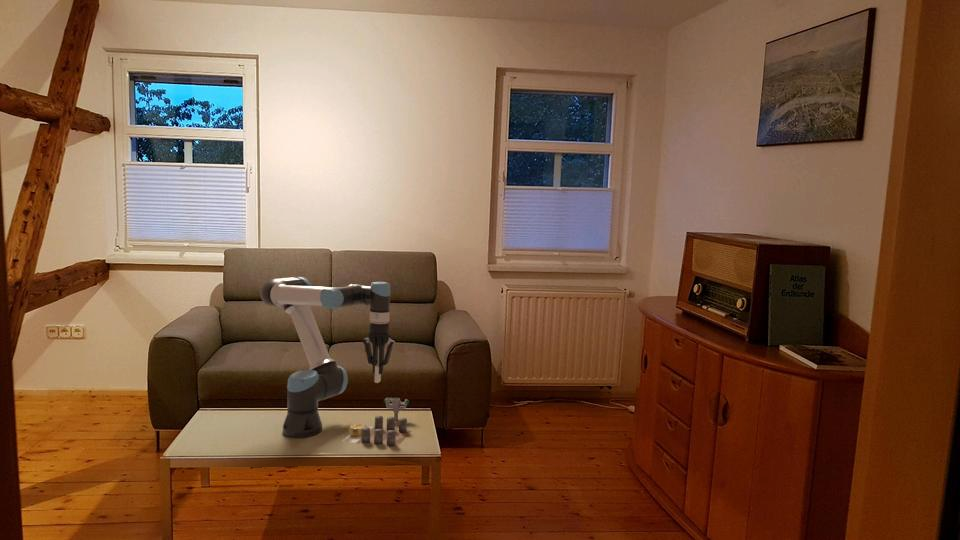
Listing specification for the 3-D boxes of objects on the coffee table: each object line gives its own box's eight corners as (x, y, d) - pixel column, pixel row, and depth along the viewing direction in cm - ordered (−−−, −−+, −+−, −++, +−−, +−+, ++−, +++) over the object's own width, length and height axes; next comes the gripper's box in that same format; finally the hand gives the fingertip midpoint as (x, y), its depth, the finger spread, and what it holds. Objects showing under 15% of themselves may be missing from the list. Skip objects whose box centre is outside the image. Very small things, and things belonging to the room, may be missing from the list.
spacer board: (341, 443, 230) (341, 428, 229) (359, 427, 247) (359, 413, 247) (397, 449, 226) (397, 434, 225) (411, 433, 243) (411, 418, 243)
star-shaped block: (345, 435, 235) (345, 428, 235) (353, 430, 242) (353, 422, 242) (362, 437, 234) (362, 430, 233) (369, 431, 240) (369, 424, 240)
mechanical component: (407, 423, 254) (408, 400, 253) (383, 422, 254) (383, 399, 253) (408, 421, 257) (409, 398, 256) (384, 420, 257) (384, 397, 256)
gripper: (359, 322, 233) (358, 382, 235) (392, 325, 230) (390, 386, 232) (367, 319, 240) (365, 377, 242) (398, 321, 237) (396, 381, 239)
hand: (377, 381), depth 237 cm, fingers closed
